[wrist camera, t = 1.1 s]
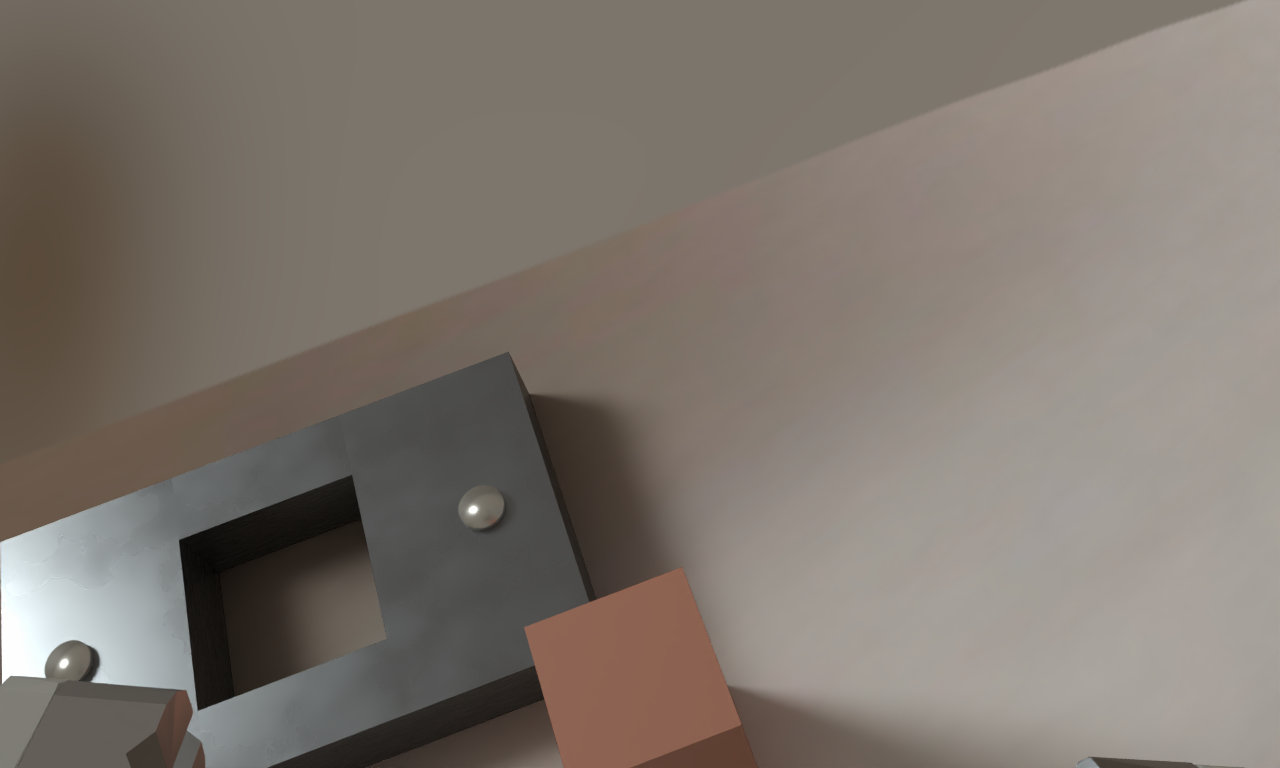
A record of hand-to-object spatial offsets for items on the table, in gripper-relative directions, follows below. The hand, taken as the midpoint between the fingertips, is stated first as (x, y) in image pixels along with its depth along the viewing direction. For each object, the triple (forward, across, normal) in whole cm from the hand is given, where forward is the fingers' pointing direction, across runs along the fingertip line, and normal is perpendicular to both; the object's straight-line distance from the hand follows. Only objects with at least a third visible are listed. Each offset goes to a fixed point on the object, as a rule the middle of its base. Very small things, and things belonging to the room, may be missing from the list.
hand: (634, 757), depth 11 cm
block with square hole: (+22, +11, +25) cm, 35 cm away
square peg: (+15, -3, +24) cm, 29 cm away
